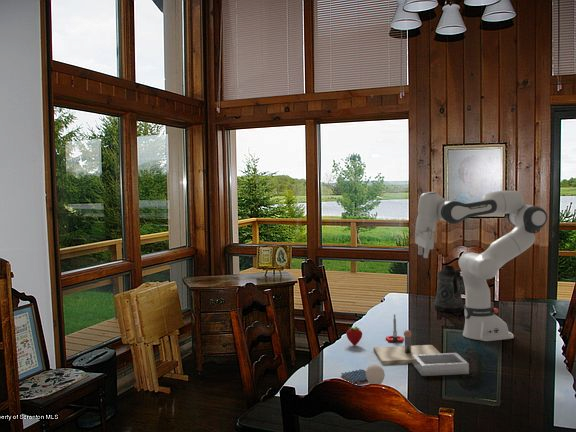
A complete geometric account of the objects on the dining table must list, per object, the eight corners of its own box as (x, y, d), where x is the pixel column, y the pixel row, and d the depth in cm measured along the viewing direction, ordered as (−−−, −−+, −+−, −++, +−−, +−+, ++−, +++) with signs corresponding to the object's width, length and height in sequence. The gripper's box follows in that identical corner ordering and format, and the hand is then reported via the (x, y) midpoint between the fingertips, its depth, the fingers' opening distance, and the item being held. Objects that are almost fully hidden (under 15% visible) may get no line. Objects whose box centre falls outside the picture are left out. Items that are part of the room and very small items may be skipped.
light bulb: (364, 393, 180) (363, 362, 180) (382, 391, 181) (381, 361, 180) (368, 400, 174) (367, 368, 173) (387, 399, 174) (386, 367, 174)
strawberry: (348, 342, 240) (348, 321, 239) (364, 344, 236) (363, 322, 236) (344, 346, 234) (343, 324, 234) (360, 348, 231) (359, 326, 231)
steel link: (456, 362, 208) (456, 352, 208) (468, 373, 195) (468, 363, 195) (412, 364, 208) (412, 354, 207) (422, 376, 195) (421, 365, 194)
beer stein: (439, 304, 310) (438, 263, 308) (472, 308, 298) (471, 265, 297) (429, 310, 296) (428, 267, 295) (463, 314, 285) (462, 269, 284)
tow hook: (385, 337, 247) (386, 342, 238) (384, 311, 247) (385, 314, 238) (403, 338, 246) (404, 343, 237) (402, 311, 246) (403, 315, 237)
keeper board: (431, 348, 227) (431, 323, 227) (445, 361, 209) (445, 334, 209) (373, 350, 227) (372, 325, 226) (382, 364, 209) (381, 337, 208)
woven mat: (354, 387, 187) (354, 381, 187) (339, 377, 197) (339, 372, 197) (378, 382, 192) (378, 376, 191) (363, 373, 201) (363, 368, 201)
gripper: (439, 229, 227) (435, 260, 228) (426, 225, 248) (423, 253, 249) (424, 228, 227) (421, 259, 228) (413, 224, 248) (410, 252, 249)
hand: (422, 256), depth 239 cm, fingers open, 8 cm apart
